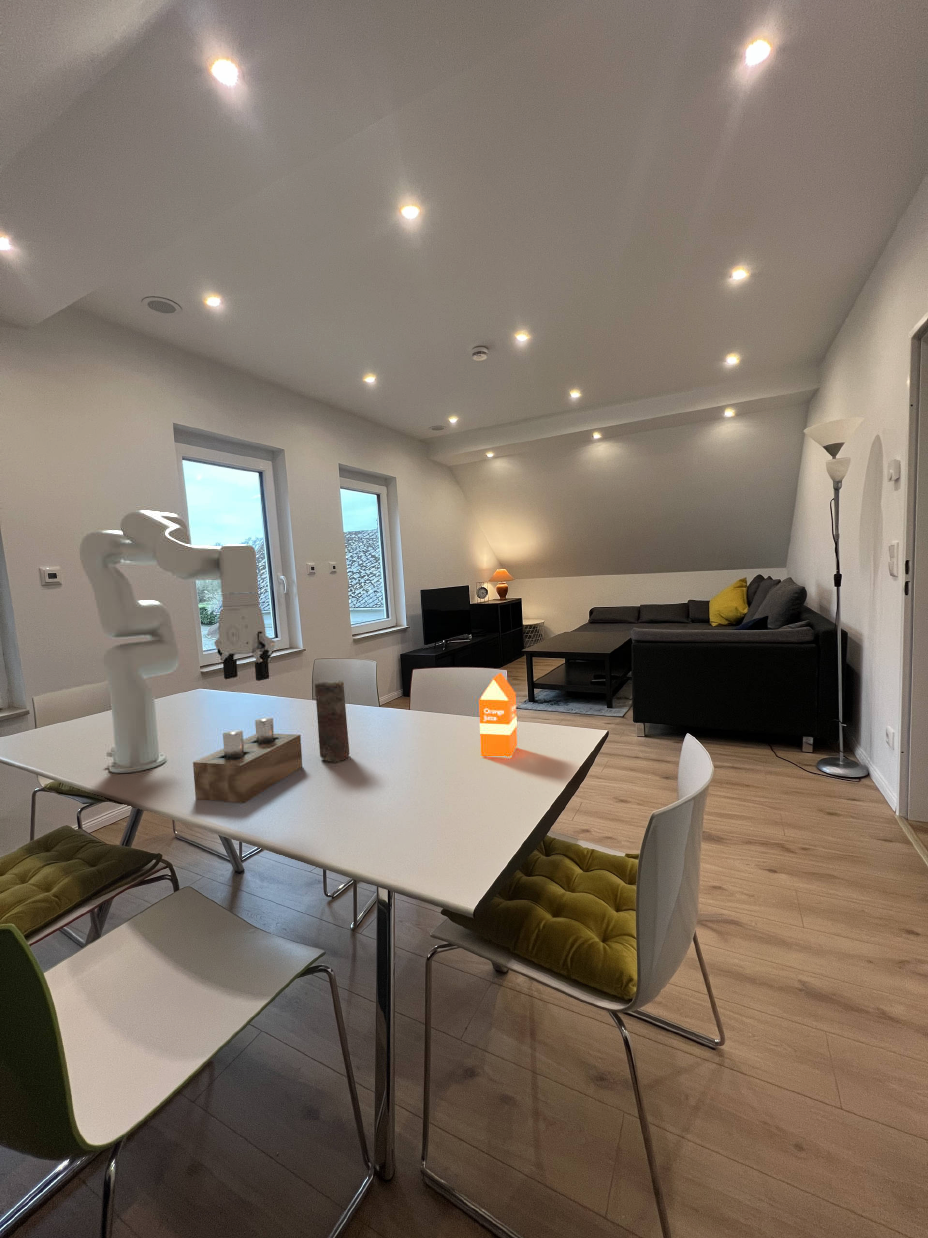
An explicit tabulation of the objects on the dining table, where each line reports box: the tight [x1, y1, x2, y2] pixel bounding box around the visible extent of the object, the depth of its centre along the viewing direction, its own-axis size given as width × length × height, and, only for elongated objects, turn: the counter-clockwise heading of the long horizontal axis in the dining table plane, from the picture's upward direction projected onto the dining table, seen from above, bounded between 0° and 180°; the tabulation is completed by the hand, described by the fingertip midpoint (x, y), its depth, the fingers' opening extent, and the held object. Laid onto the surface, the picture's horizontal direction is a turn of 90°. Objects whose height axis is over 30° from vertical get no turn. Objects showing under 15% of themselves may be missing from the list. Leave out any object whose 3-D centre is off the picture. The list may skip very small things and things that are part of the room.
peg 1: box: [222, 729, 244, 759], centre depth 117 cm, size 4×4×7 cm
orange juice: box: [478, 672, 518, 757], centre depth 137 cm, size 8×9×20 cm
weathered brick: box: [314, 680, 350, 763], centre depth 137 cm, size 8×7×20 cm
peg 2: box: [254, 717, 275, 744], centre depth 128 cm, size 4×4×7 cm
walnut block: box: [192, 733, 303, 804], centre depth 123 cm, size 12×22×8 cm, turn 165°
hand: (246, 678), depth 118 cm, fingers open, 9 cm apart
